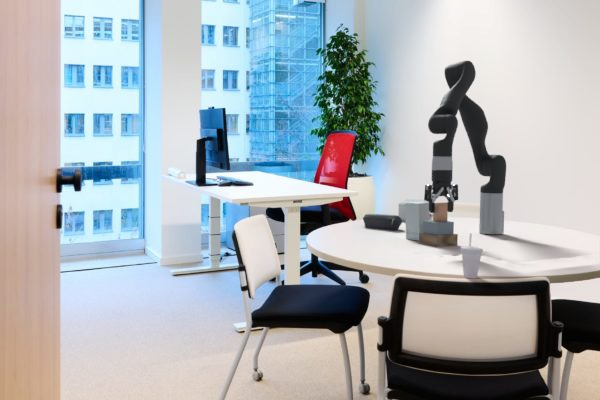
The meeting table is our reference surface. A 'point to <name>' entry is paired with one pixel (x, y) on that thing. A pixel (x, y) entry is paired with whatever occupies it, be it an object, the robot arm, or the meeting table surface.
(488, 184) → the robot arm
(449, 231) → the tower top
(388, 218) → the glasses case
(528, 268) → the meeting table surface
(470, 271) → the smoothie
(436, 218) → the peach capsule
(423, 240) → the tower base
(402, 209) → the long grey block
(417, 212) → the skincare box
